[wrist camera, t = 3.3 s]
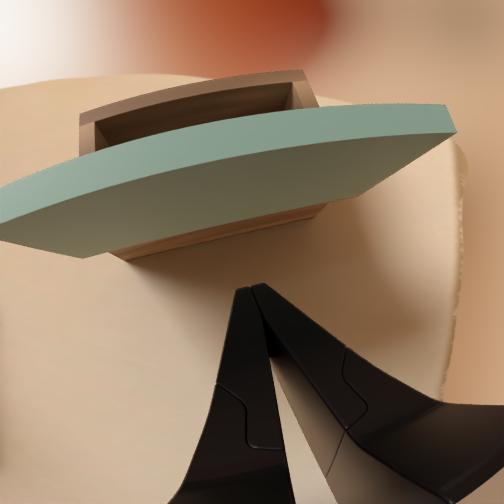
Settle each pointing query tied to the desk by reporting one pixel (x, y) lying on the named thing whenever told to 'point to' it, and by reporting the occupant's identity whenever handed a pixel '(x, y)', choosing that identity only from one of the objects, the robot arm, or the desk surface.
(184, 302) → the desk surface
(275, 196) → the lid
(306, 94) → the walnut box
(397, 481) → the robot arm
